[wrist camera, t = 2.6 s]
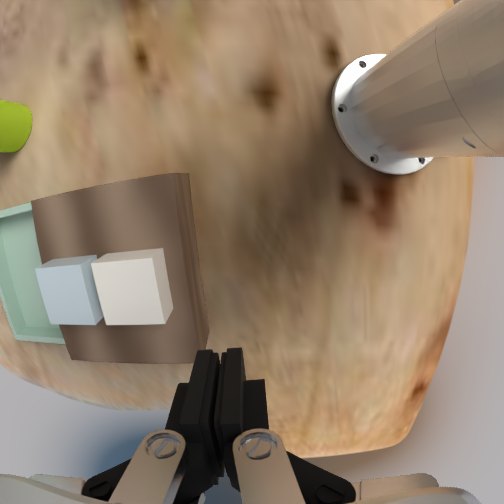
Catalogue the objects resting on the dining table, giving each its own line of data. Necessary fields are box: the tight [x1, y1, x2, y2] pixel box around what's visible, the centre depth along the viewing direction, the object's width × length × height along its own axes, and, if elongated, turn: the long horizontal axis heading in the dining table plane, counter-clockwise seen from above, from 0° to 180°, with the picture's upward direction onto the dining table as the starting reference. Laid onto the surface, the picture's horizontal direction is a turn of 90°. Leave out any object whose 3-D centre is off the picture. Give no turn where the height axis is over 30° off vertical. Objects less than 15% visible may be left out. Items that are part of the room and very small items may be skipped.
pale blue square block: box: [35, 255, 104, 325], centre depth 22 cm, size 5×5×3 cm
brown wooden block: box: [31, 173, 209, 364], centre depth 26 cm, size 14×16×6 cm
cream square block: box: [91, 248, 173, 325], centre depth 22 cm, size 5×5×3 cm
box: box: [0, 202, 65, 344], centre depth 28 cm, size 12×16×3 cm
